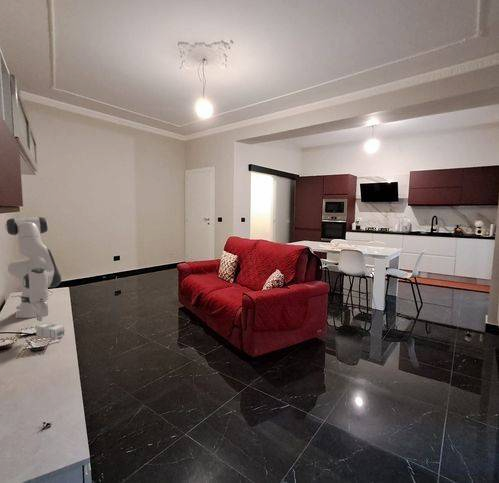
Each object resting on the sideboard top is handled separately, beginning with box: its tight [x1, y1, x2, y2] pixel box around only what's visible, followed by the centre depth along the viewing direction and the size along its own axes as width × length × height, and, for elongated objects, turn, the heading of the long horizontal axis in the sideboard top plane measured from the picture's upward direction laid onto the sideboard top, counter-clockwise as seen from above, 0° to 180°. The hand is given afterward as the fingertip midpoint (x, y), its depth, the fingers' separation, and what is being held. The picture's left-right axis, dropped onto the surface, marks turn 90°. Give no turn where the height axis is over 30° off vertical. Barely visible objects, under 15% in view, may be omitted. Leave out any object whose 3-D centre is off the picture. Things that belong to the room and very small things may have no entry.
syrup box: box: [35, 323, 65, 339], centre depth 171 cm, size 6×6×14 cm
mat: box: [25, 335, 61, 345], centre depth 166 cm, size 16×12×1 cm
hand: (39, 320), depth 168 cm, fingers closed
